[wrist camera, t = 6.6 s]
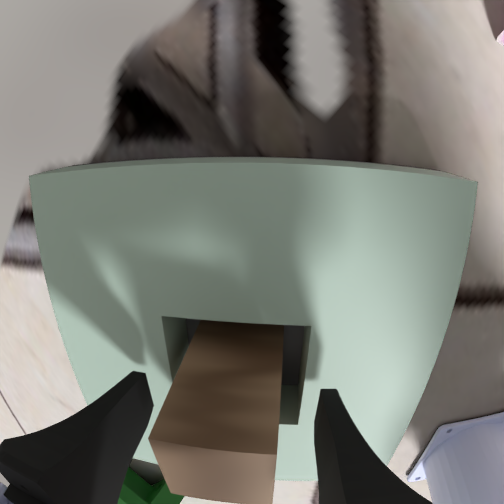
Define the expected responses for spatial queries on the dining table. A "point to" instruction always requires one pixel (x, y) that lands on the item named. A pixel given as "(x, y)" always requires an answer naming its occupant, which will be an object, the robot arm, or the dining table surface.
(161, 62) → the dining table surface
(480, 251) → the dining table surface
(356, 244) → the well block
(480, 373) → the dining table surface
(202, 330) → the post
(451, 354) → the dining table surface
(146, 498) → the clamp
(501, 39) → the lily
